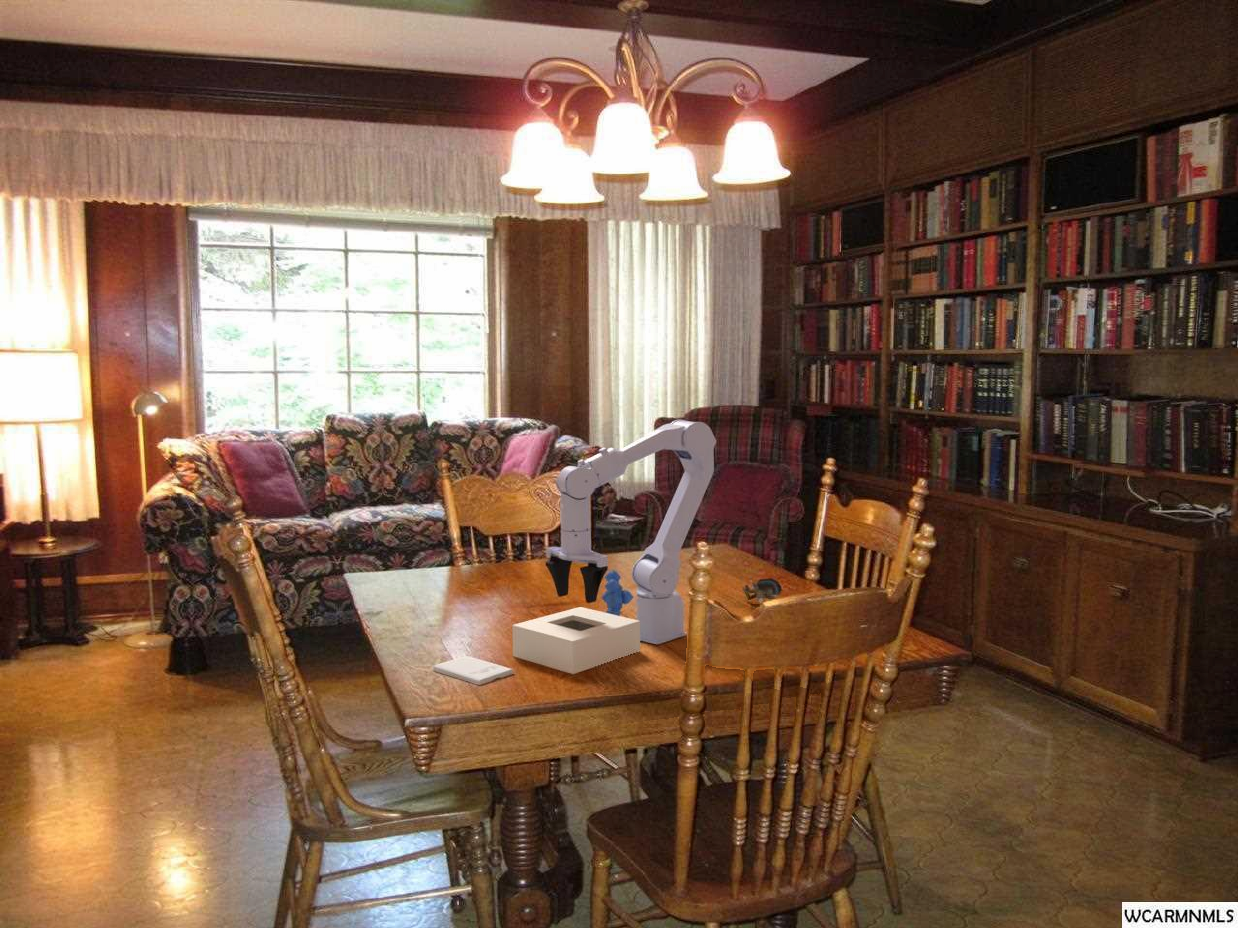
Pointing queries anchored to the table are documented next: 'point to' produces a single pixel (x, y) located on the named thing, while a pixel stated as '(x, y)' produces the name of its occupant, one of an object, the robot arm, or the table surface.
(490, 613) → the table surface
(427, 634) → the table surface
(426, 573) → the table surface
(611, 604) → the grapes
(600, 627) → the box
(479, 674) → the external hard drive
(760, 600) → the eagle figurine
